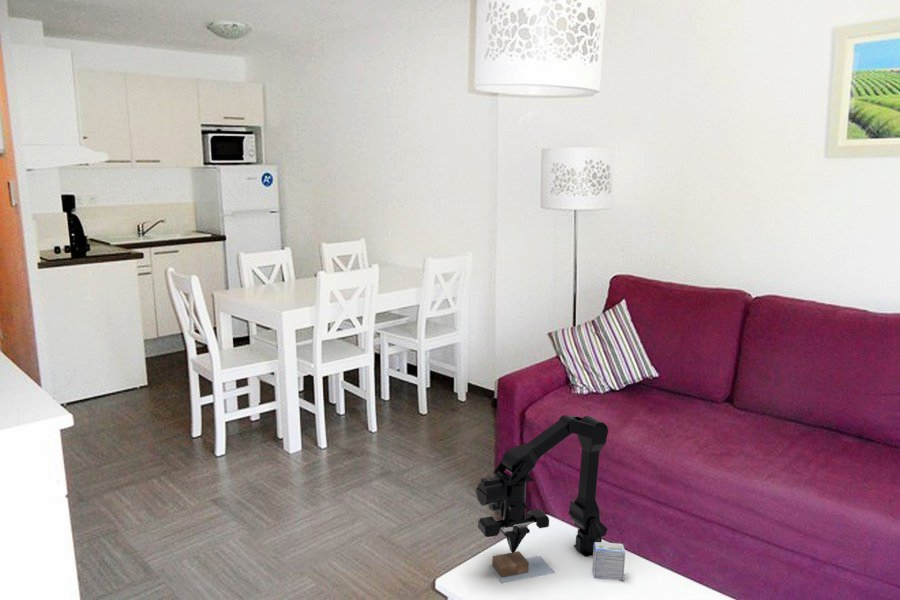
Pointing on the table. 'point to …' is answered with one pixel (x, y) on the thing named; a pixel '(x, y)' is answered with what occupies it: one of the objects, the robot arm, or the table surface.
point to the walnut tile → (510, 564)
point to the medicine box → (608, 561)
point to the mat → (535, 569)
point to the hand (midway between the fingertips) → (512, 551)
